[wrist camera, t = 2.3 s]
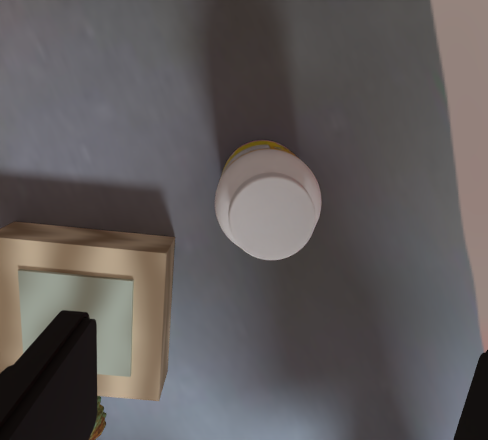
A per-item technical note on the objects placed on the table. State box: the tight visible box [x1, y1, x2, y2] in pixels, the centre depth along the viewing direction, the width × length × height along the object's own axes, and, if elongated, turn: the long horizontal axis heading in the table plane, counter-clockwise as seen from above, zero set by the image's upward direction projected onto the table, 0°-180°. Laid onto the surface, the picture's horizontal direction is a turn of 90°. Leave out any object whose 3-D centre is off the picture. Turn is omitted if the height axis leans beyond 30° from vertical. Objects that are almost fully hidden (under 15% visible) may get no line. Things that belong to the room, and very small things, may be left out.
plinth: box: [0, 222, 175, 401], centre depth 34 cm, size 14×14×4 cm
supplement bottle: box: [215, 140, 322, 260], centre depth 27 cm, size 7×7×13 cm
